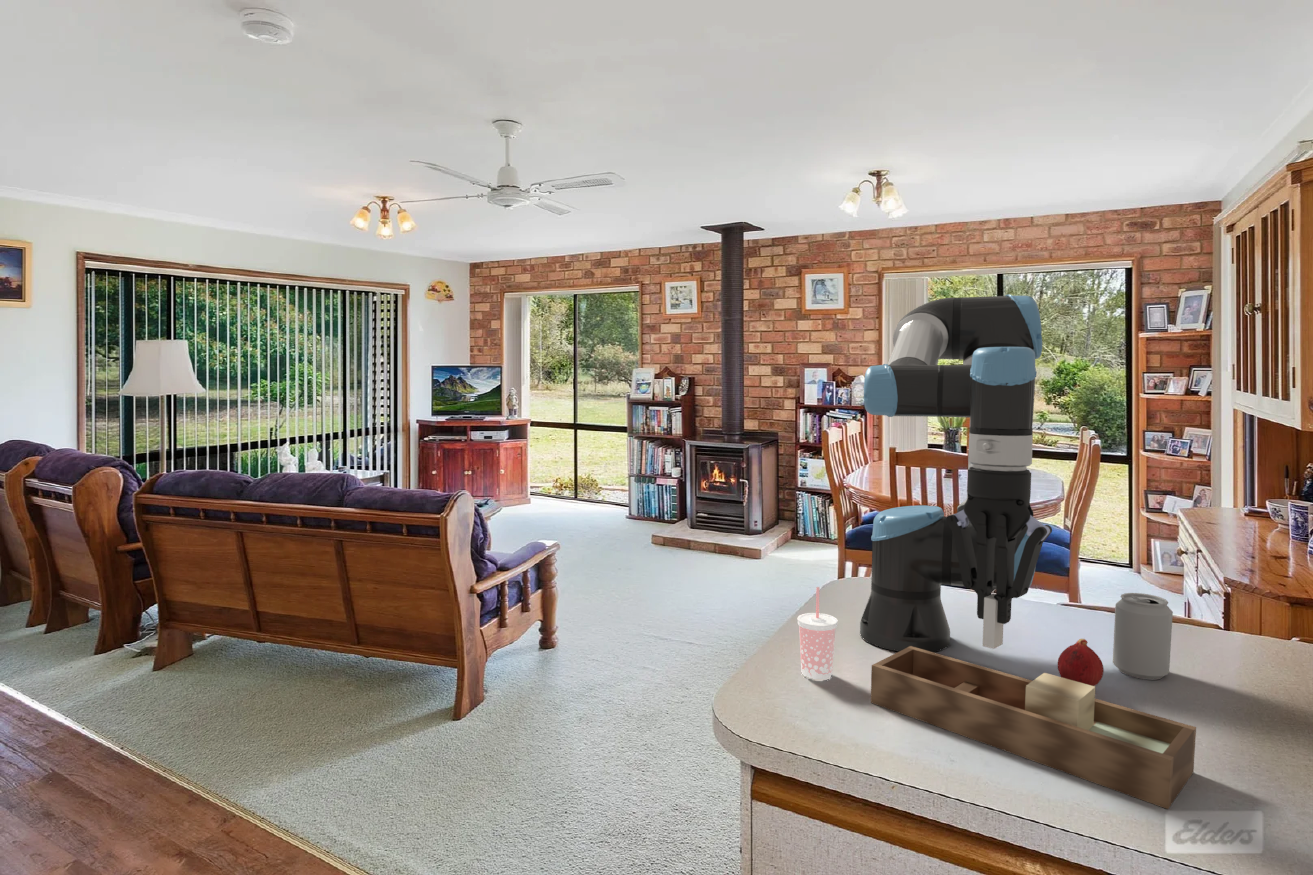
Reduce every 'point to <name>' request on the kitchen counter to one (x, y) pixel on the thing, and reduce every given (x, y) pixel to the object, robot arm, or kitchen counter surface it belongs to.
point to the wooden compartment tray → (1039, 725)
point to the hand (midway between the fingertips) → (992, 644)
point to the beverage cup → (817, 642)
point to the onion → (1080, 664)
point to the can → (1142, 636)
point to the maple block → (1061, 700)
